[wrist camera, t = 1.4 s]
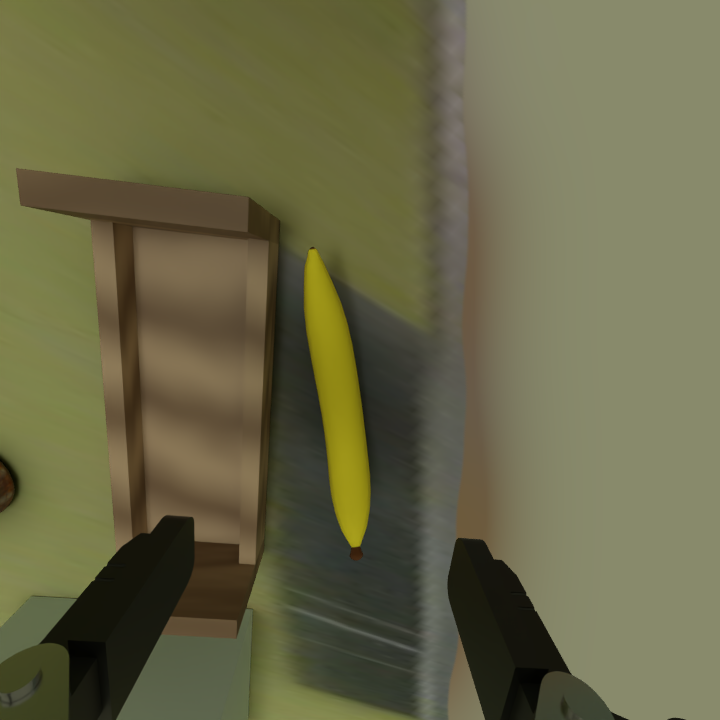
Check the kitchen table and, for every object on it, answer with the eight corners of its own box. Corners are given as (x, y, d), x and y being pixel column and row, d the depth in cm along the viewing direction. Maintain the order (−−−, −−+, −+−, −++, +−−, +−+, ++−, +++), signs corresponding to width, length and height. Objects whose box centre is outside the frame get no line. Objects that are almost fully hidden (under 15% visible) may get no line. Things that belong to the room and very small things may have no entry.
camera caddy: (31, 596, 29) (-86, 714, 21) (252, 609, 30) (218, 727, 22) (49, 710, 32) (-47, 849, 24) (248, 718, 33) (216, 854, 25)
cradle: (121, 201, 22) (16, 168, 15) (279, 220, 22) (248, 197, 15) (140, 542, 28) (73, 629, 21) (263, 551, 28) (236, 638, 22)
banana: (341, 249, 23) (338, 240, 17) (373, 495, 27) (380, 559, 21) (298, 255, 23) (279, 248, 17) (338, 499, 27) (334, 565, 21)
